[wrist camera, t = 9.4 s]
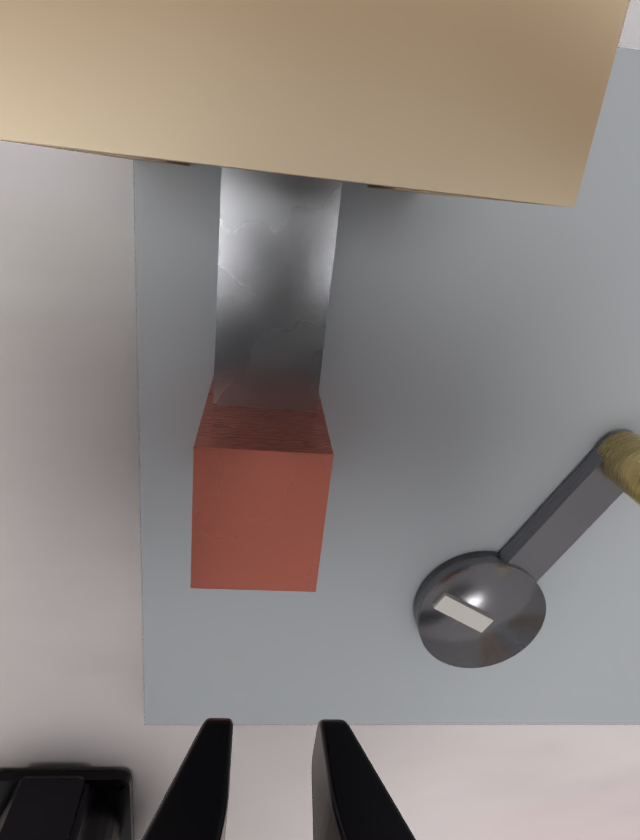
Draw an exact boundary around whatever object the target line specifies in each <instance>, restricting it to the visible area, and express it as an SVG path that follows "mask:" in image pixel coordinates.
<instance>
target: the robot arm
mask: <svg viewBox="0 0 640 840" xmlns="http://www.w3.org/2000/svg"><path fill="white" fill-rule="evenodd" d="M232 734H233V721H232V720H231V719H230V718H208V719H206V720H205V721H204V723H203V724H202V726H201V728H200V730H199V732H198V734H197V736H196V737H195V739H194V741H193V743H192V745H191V747H190V749H189V751H188V753H187V755H186V756H185V758H184V760H183V762H182V764H181V766H180V768H179V770H178V772H177V774H176V775H175V777H174V779H173V781H172V783H171V785H170V787H169V789H168V791H167V792H166V794H165V796H164V798H163V800H162V802H161V804H160V806H159V808H158V810H157V811H156V813H155V815H154V817H153V819H152V821H151V823H150V825H149V827H148V829H147V830H146V832H145V834H144V836H143V838H142V840H225V830H226V819H227V808H228V798H229V784H230V767H231V750H232ZM312 805H313V840H416V839H415V837H414V836H413V834H412V832H411V831H410V829H409V827H408V826H407V824H406V822H405V820H404V819H403V817H402V815H401V814H400V812H399V810H398V808H397V807H396V805H395V803H394V802H393V800H392V798H391V796H390V795H389V793H388V791H387V790H386V788H385V786H384V785H383V783H382V781H381V779H380V778H379V776H378V774H377V773H376V771H375V769H374V767H373V766H372V764H371V762H370V761H369V759H368V757H367V756H366V754H365V752H364V750H363V749H362V747H361V745H360V744H359V742H358V740H357V738H356V737H355V735H354V733H353V732H352V730H351V728H350V727H349V725H348V724H347V722H346V721H344V720H341V719H322V720H320V722H319V723H318V727H317V732H316V738H315V744H314V750H313V756H312ZM0 840H134V829H133V800H132V777H131V775H130V774H129V773H127V772H124V771H67V772H0Z"/></svg>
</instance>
